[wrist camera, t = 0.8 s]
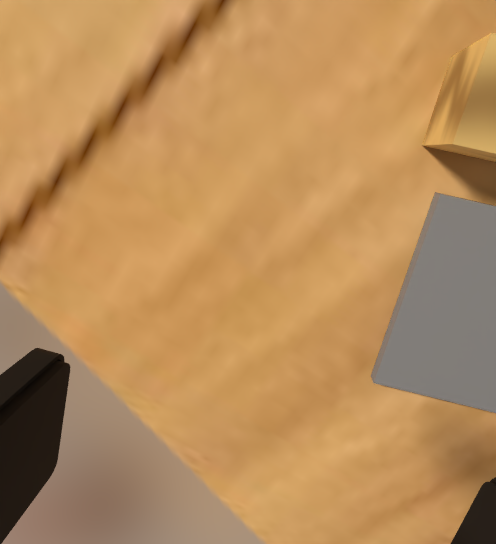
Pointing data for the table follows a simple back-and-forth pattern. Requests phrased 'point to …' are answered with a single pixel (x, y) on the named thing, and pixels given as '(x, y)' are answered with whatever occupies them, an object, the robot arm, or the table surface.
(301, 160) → the table surface
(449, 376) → the plate
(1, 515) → the robot arm
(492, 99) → the mustard block
